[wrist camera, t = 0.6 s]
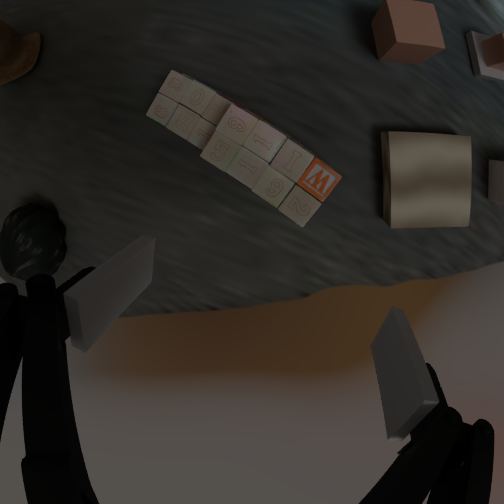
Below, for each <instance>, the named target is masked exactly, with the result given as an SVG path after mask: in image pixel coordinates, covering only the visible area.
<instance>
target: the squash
mask: <svg viewBox="0 0 504 504" xmlns="http://www.w3.org/2000/svg"><path fill="white" fill-rule="evenodd" d="M57 219H58V218H57V214H56V213H55V212H54V211H53V210H49V209H44V208H43V207H42V206H41V205H40V204H37V203H35V204H32V203H28V204H27V205H25V206H24V207H19V208H17V209H15V210H13V211H12V212H11V213H10V214H9V215H8V216H7V218H6V219H5V221H4V224H3V228H2V230H1V233H0V258H1V262H2V265H3V267H4V269H5V271H6V272H7V274H8V275H10V276H13V277H16V278H19V279H22V280H25V281H27V279H29V278H30V277H31V276H34V275H36V274H48V275H50V276H51V275H53V274H54V273H55V272H56V271H57V269H58V268H59V266H60V264H61V263H62V262H63V260H64V258H65V253H66V250H65V245H64V243H63V240H64V236H65V230H64V228H63V227H62V226H60V225H56V224H57Z"/></svg>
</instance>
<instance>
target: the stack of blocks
mask: <svg viewBox="0 0 504 504" xmlns="http://www.w3.org/2000/svg"><path fill="white" fill-rule="evenodd" d="M146 116H148V117H150V118H151V119H153V120H155V121H157V122H158V123H160V124H162V125H163V126H166V128H167V129H169V130H171V131H172V132H174V133H176V134H177V135H179V136H181V137H182V138H184V139H186V140H187V141H188V142H190V143H192V144H193V145H195V146H196V147H198V148H200V149H201V150H203V151H202V153H201V154H200V157H202V158H203V159H205V160H206V161H208V162H210V163H211V164H213V165H214V166H216V167H217V168H219V169H220V170H222V171H223V172H227V173H228V174H229V175H231V176H232V177H234V178H235V179H237V180H238V181H240V182H241V183H243V184H244V185H246V186H247V187H249V188H251V190H252V191H253V192H254V193H256V194H257V195H258V196H260V197H261V198H263V199H264V200H266V201H267V202H269V203H270V204H271V205H273V206H274V207H276V208H278V210H279V211H280V212H282V213H283V214H285V215H286V216H287V217H289V218H290V219H291V220H293V221H294V222H295V223H297V224H298V225H300V226H301V227H304V226H305V224H306V223H307V222H308V220H309V219H310V218H311V217H312V215H313V214H314V213H315V212H316V210H317V209H318V208H319V207H320V205H321V202H323V201H324V200H325V199H326V197H327V196H328V195H329V194H330V192H331V191H332V190H333V188H334V187H335V186H336V184H337V183H338V182H339V180H340V179H341V176H340V175H339V174H338V173H337V172H336V171H335V170H334V169H332V167H331V166H330V165H328V164H327V163H326V162H324V161H323V160H322V159H320V158H319V157H318V156H316V155H315V154H314V153H313V152H312V151H311V150H309V149H308V148H306V147H305V146H304V145H302V144H301V143H299V142H298V141H297V140H295V139H294V138H292V137H291V136H290V135H288V134H287V133H285V132H284V131H282V130H281V129H280V128H278V127H277V126H275V125H272V124H270V123H269V122H267V121H266V120H264V119H263V118H261V117H260V116H258V115H257V114H255V113H253V112H251V111H249V110H248V109H246V108H245V107H243V106H241V105H240V104H238V103H236V101H235V100H233V99H232V98H230V97H228V96H227V95H225V94H223V93H222V92H220V91H218V90H216V89H214V88H212V87H210V86H209V85H207V84H205V83H203V82H201V81H199V80H197V79H195V78H193V77H191V76H188V75H186V74H181V73H179V72H177V71H174V70H171V72H170V74H169V75H168V77H167V78H166V80H165V82H164V83H163V85H162V87H161V88H160V90H159V93H158V94H157V96H156V98H155V99H154V101H153V103H152V105H151V106H150V108H149V110H148V112H147V114H146Z"/></svg>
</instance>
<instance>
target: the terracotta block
mask: <svg viewBox="0 0 504 504" xmlns="http://www.w3.org/2000/svg"><path fill="white" fill-rule="evenodd" d="M371 25H372V30H373V34H374V39H375V44H376V49H377V55H378V60H379V61H388V62H402V63H412V64H420V63H422V62H424V61H425V60H427V59H428V58H430V57H432V56H433V55H435V54H437V53H439V52H440V51H442V50H444V49H445V45H444V41H443V37H442V33H441V29H440V25H439V21H438V18H437V14H436V11H435V7H434V4H430V3H425V2H419V1H413V0H384V1H383V2H382V4H381V6H380V8H379V9H378V11H377V13H376V15H375V17H374V18H373V20H372V22H371Z"/></svg>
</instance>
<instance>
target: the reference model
mask: <svg viewBox="0 0 504 504" xmlns="http://www.w3.org/2000/svg"><path fill="white" fill-rule="evenodd" d="M465 35H466V38H467V43H468V47H469V51H470V56H471V61H472V66H473V71H474V76H475V77H480V78H484V79H489V80H493V81H497V82H500V83H504V33H500V34H498V35H496V36H493V37H490V36H487V35H484V34H481V33H477V32H474V31H470V32H468V33H467V34H465Z"/></svg>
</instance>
